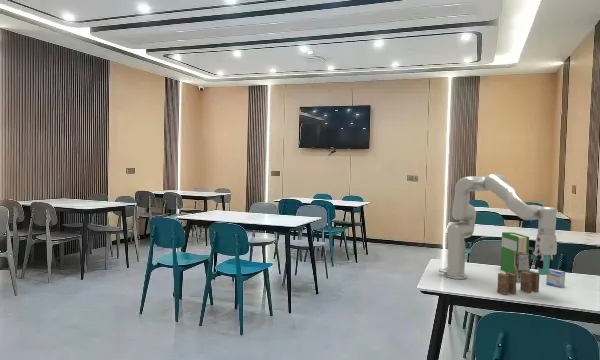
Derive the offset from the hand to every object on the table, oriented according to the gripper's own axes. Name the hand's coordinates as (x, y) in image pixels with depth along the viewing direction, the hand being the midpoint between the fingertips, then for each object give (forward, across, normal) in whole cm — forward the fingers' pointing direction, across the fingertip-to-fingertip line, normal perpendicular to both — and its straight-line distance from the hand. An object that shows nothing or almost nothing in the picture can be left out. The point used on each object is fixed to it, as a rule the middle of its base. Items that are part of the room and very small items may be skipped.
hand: (544, 267), depth 220 cm
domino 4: (+15, +5, +9) cm, 18 cm away
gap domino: (+4, 0, 0) cm, 4 cm away
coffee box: (+15, +15, +27) cm, 34 cm away
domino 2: (+15, -11, +9) cm, 21 cm away
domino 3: (+15, -1, +9) cm, 18 cm away
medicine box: (+15, +27, +14) cm, 34 cm away
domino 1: (+15, -16, +9) cm, 24 cm away
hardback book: (+16, +27, +44) cm, 54 cm away
